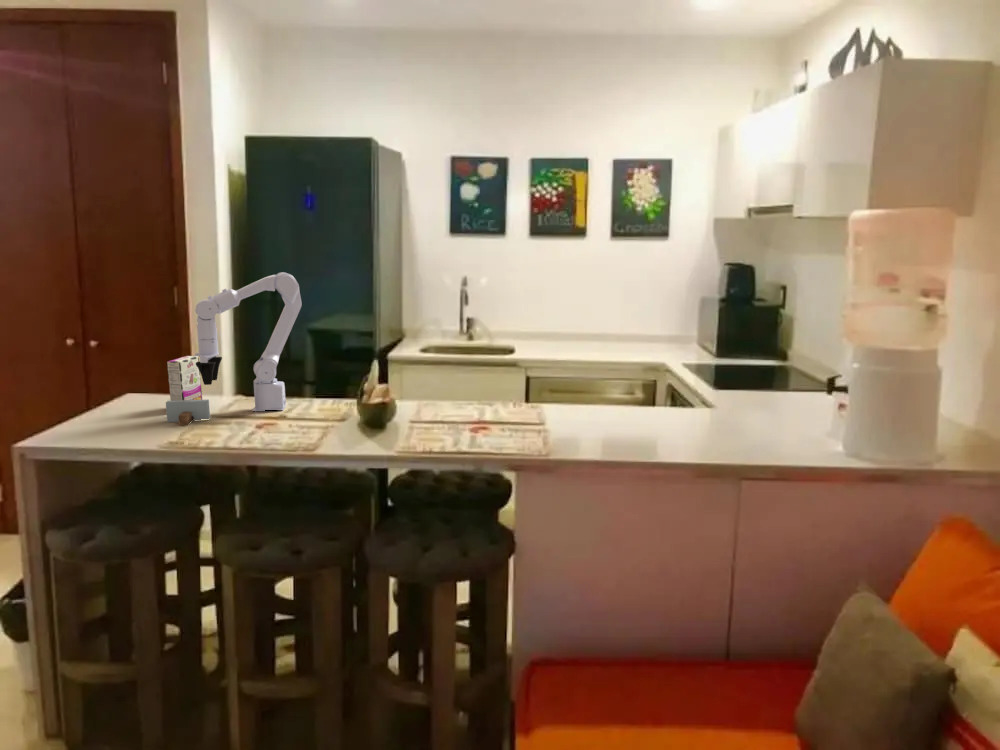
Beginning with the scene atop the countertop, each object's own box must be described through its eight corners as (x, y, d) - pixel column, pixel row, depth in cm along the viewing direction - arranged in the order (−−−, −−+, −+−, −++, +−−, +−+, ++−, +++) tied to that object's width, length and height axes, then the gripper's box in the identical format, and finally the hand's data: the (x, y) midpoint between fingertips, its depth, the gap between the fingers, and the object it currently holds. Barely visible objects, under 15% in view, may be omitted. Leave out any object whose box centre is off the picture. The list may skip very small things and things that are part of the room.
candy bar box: (189, 404, 283) (185, 355, 281) (203, 405, 282) (199, 355, 280) (170, 412, 273) (166, 360, 270) (184, 412, 272) (180, 361, 269)
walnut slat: (198, 415, 267) (198, 405, 267) (187, 425, 254) (186, 415, 253) (190, 415, 267) (190, 406, 267) (179, 425, 253) (178, 415, 253)
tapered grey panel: (210, 418, 262) (208, 399, 261) (208, 420, 260) (207, 401, 259) (169, 420, 261) (167, 400, 260) (167, 421, 258) (165, 402, 257)
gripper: (199, 336, 272) (202, 378, 275) (188, 342, 258) (191, 386, 260) (222, 335, 273) (225, 378, 275) (212, 341, 259) (215, 386, 261)
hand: (210, 382), depth 268 cm, fingers open, 7 cm apart
